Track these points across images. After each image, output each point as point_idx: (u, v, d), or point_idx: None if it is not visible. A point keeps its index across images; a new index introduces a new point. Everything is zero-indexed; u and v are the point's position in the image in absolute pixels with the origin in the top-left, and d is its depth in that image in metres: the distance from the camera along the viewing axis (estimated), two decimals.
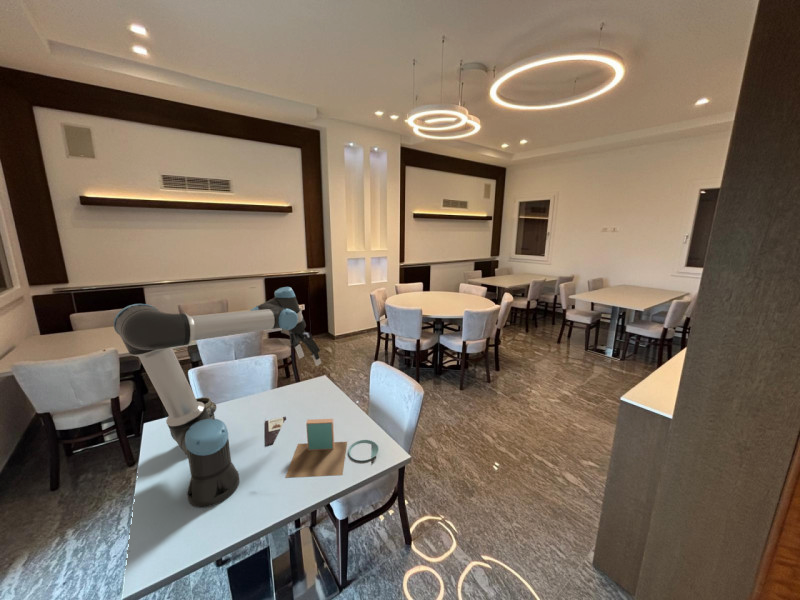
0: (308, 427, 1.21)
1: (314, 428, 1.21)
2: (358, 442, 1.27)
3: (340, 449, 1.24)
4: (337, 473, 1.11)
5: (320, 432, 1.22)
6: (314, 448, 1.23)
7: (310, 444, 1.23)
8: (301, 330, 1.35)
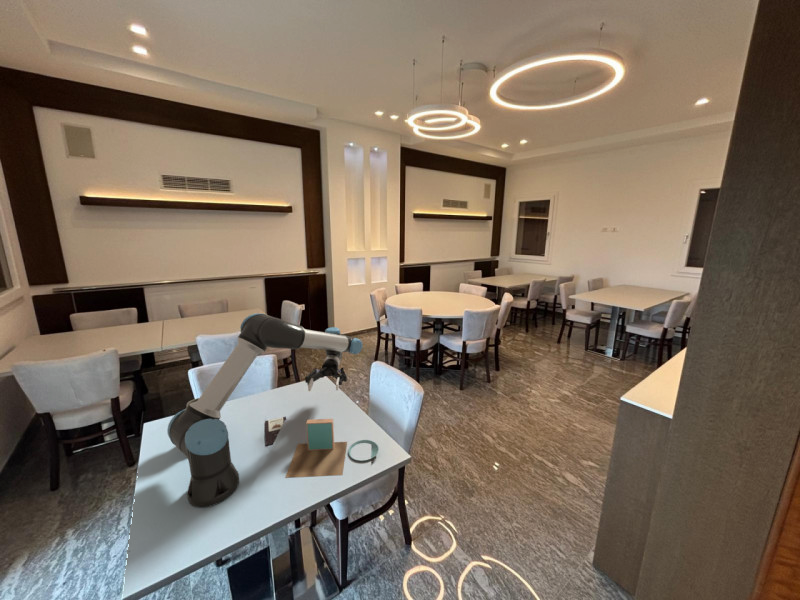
0: (308, 427, 1.21)
1: (314, 428, 1.21)
2: (358, 442, 1.27)
3: (340, 449, 1.24)
4: (337, 473, 1.11)
5: (320, 432, 1.22)
6: (314, 448, 1.23)
7: (310, 444, 1.23)
8: None
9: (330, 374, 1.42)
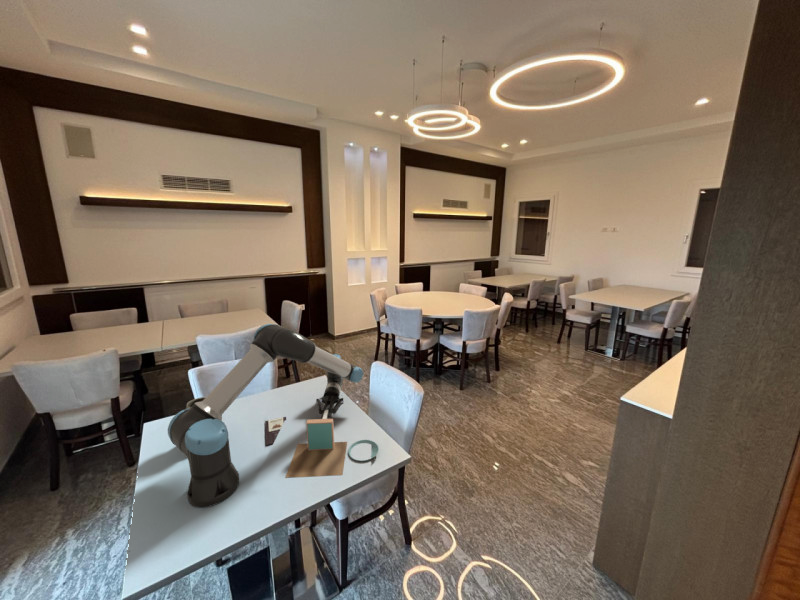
0: (308, 427, 1.21)
1: (314, 428, 1.21)
2: (358, 442, 1.27)
3: (340, 449, 1.24)
4: (337, 473, 1.11)
5: (320, 432, 1.22)
6: (314, 448, 1.23)
7: (310, 444, 1.23)
8: None
9: None
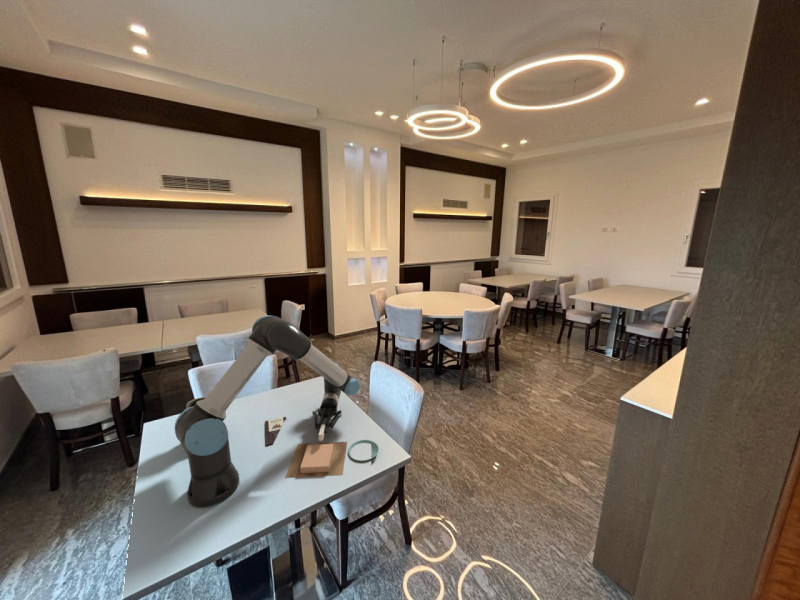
0: None
1: None
2: (358, 442, 1.27)
3: (340, 449, 1.24)
4: (337, 473, 1.11)
5: None
6: None
7: None
8: None
9: None
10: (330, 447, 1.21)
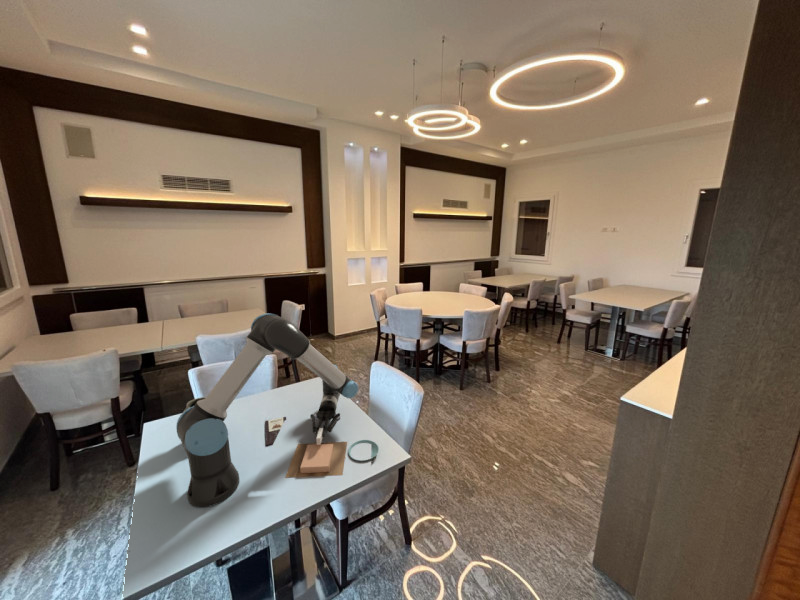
0: None
1: None
2: (358, 442, 1.27)
3: (340, 449, 1.24)
4: (337, 473, 1.11)
5: None
6: None
7: None
8: None
9: None
10: (330, 447, 1.21)
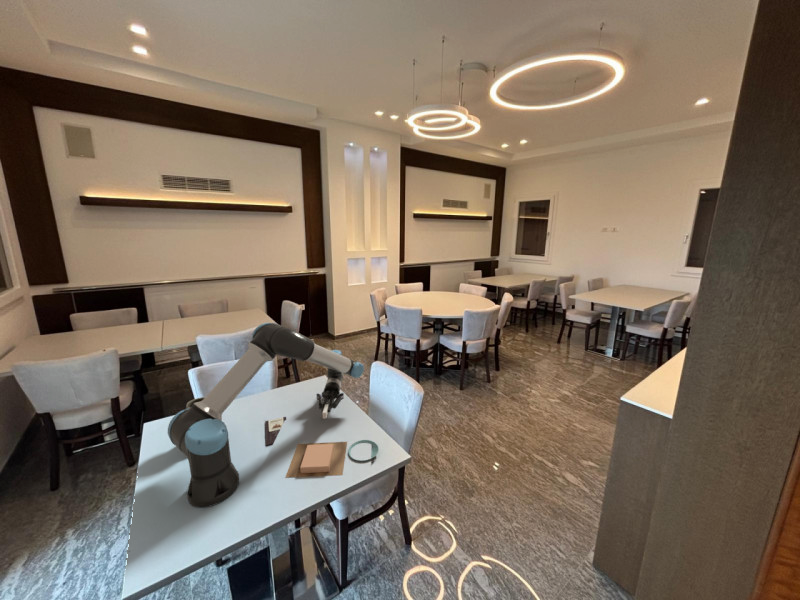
0: None
1: None
2: (358, 442, 1.27)
3: (340, 449, 1.24)
4: (337, 473, 1.11)
5: None
6: None
7: None
8: None
9: None
10: (330, 447, 1.21)
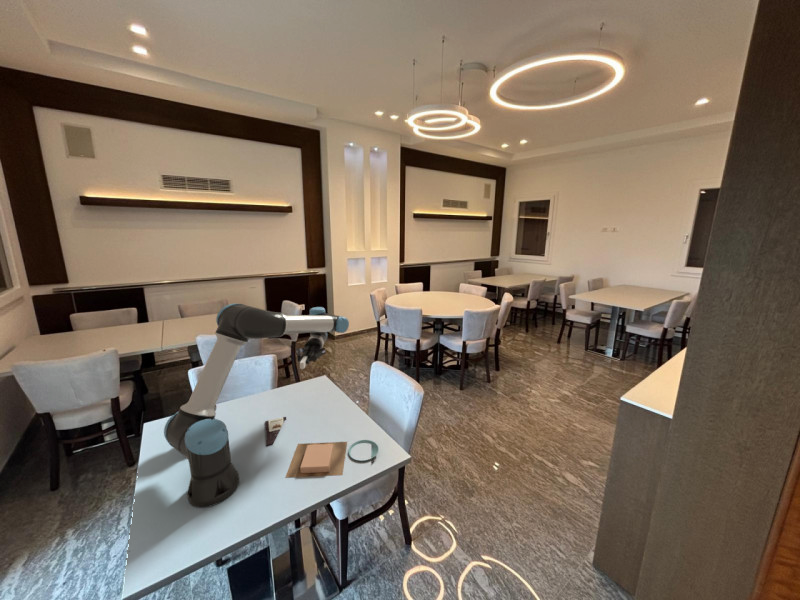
0: None
1: None
2: (358, 442, 1.27)
3: (340, 449, 1.24)
4: (337, 473, 1.11)
5: None
6: None
7: None
8: None
9: None
10: (330, 447, 1.21)
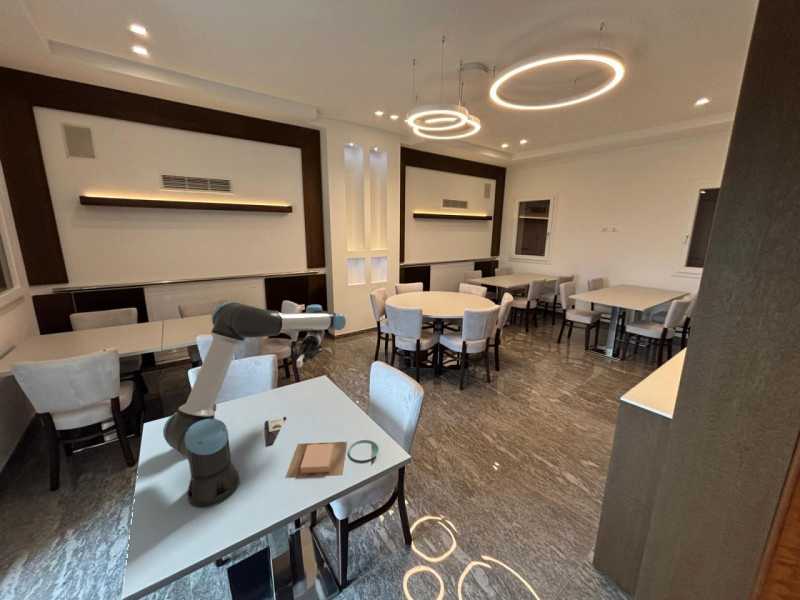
0: None
1: None
2: (358, 442, 1.27)
3: (340, 449, 1.24)
4: (337, 473, 1.11)
5: None
6: None
7: None
8: None
9: None
10: (330, 447, 1.21)
